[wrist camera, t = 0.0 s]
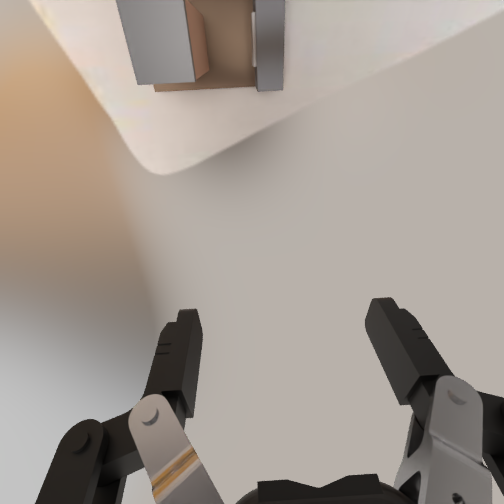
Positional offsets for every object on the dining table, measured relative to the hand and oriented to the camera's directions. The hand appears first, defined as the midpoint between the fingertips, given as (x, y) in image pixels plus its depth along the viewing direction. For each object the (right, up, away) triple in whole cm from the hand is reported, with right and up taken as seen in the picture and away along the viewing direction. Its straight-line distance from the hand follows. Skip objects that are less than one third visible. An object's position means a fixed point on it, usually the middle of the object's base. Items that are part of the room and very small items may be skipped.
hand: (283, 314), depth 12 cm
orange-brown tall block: (-8, +25, +15) cm, 30 cm away
